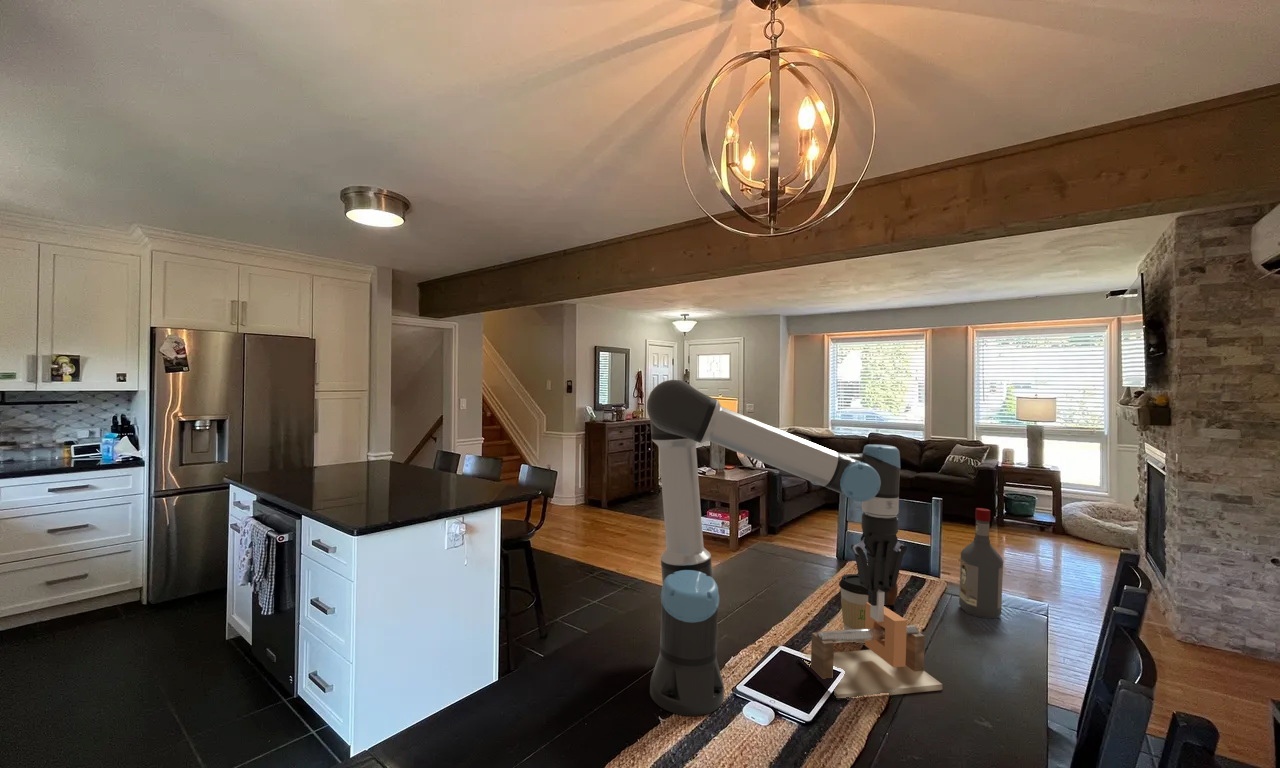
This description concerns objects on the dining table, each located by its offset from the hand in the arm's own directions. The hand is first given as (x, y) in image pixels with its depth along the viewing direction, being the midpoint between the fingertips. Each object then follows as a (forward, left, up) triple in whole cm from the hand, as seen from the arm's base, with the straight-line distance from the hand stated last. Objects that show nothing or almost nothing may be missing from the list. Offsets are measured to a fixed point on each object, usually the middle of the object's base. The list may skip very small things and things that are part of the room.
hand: (876, 619), depth 120 cm
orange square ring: (+2, 0, -8) cm, 9 cm away
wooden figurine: (+29, +35, -13) cm, 47 cm away
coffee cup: (+7, +16, -13) cm, 21 cm away
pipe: (-2, 0, -5) cm, 5 cm away
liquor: (+54, +26, -13) cm, 61 cm away
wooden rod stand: (-2, 0, -12) cm, 13 cm away
